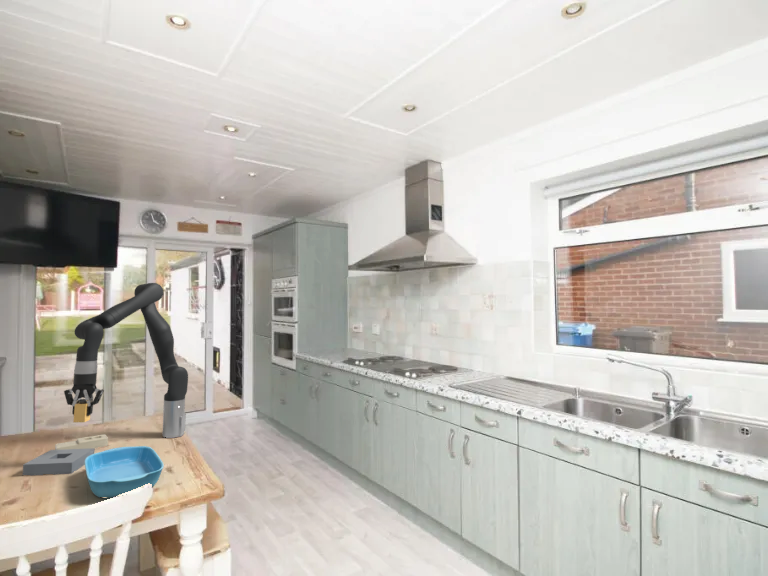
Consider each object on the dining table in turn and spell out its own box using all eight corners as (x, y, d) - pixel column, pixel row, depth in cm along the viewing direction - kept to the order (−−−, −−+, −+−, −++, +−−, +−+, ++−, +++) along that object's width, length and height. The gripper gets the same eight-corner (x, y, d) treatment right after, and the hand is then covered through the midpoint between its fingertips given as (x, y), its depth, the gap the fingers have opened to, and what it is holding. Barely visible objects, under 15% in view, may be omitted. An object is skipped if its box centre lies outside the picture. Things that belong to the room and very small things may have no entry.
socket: (94, 458, 169) (94, 448, 169) (71, 473, 153) (72, 462, 153) (50, 460, 166) (50, 449, 167) (22, 475, 151) (23, 464, 151)
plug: (89, 419, 168) (91, 398, 169) (84, 422, 164) (86, 400, 165) (79, 419, 168) (80, 398, 168) (73, 422, 164) (75, 400, 164)
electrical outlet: (55, 441, 178) (105, 433, 190) (55, 451, 178) (105, 442, 190) (57, 445, 173) (108, 437, 185) (56, 455, 172) (107, 446, 184)
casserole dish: (169, 491, 141) (169, 469, 141) (88, 510, 127) (89, 486, 127) (148, 459, 169) (149, 441, 170) (81, 472, 155) (82, 452, 156)
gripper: (109, 371, 172) (106, 413, 171) (71, 370, 170) (67, 413, 169) (100, 373, 165) (96, 417, 163) (60, 373, 162) (56, 417, 161)
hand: (82, 415), depth 166 cm, fingers closed on plug, 4 cm apart
